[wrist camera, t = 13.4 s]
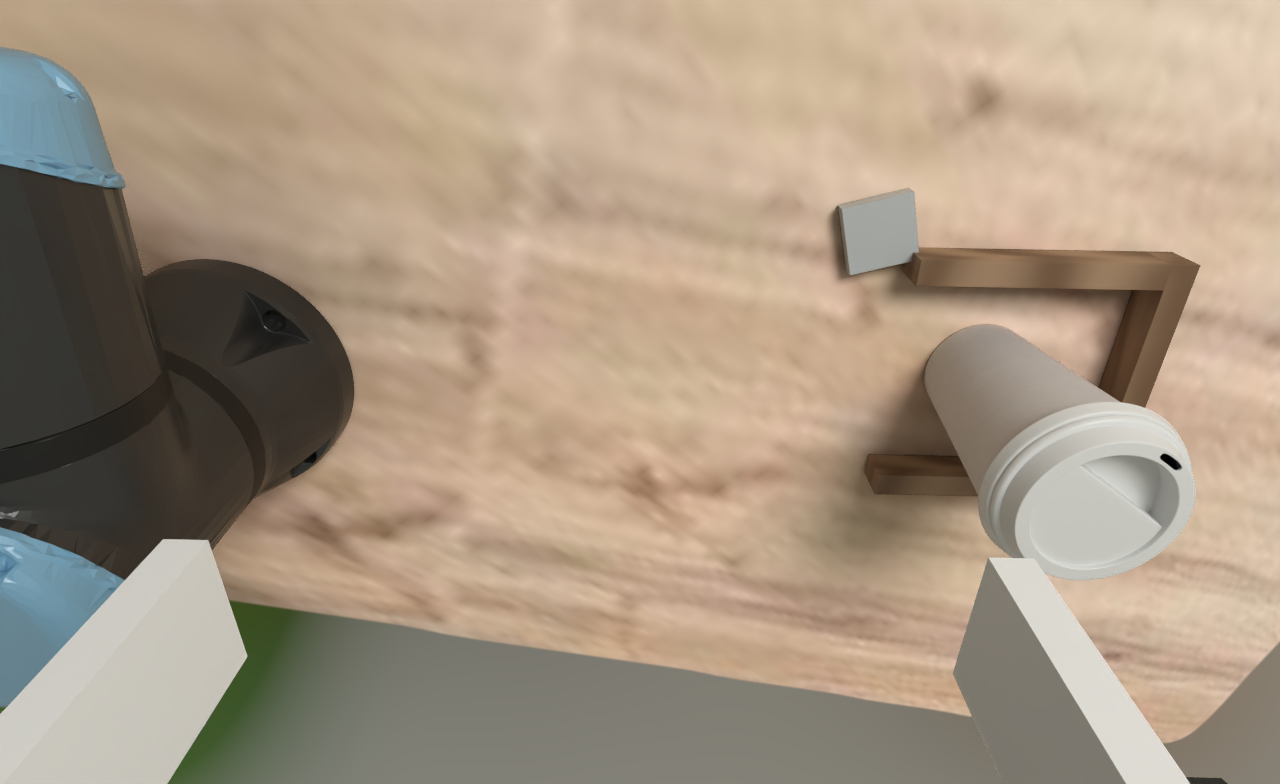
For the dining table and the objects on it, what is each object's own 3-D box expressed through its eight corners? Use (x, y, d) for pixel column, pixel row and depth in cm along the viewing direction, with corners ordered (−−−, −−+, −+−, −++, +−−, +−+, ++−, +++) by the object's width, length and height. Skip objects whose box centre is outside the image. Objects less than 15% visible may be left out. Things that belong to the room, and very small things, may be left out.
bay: (865, 472, 50) (874, 494, 48) (907, 247, 43) (921, 260, 41) (1089, 477, 50) (1109, 499, 48) (1171, 252, 43) (1200, 265, 40)
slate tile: (846, 270, 43) (850, 275, 43) (837, 205, 42) (841, 209, 41) (914, 254, 43) (919, 259, 42) (908, 188, 41) (914, 191, 40)
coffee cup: (1072, 392, 47) (1236, 542, 34) (932, 457, 50) (1034, 620, 36) (1024, 272, 43) (1187, 387, 30) (875, 348, 46) (965, 486, 33)
